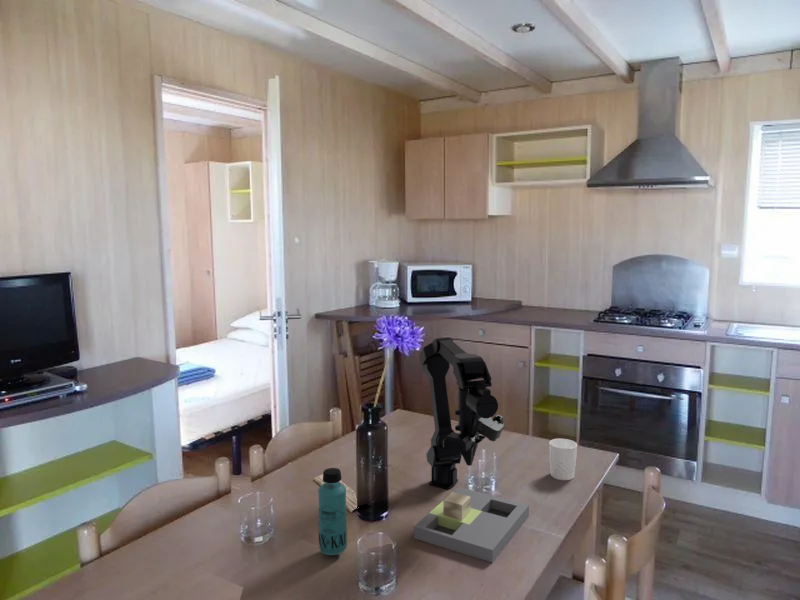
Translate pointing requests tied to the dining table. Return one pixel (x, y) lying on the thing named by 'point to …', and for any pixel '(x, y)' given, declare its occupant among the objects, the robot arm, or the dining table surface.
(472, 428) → the robot arm
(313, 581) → the dining table surface
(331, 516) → the beverage bottle
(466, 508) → the maple block
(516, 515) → the trap deck
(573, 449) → the white cup
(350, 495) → the newspaper
